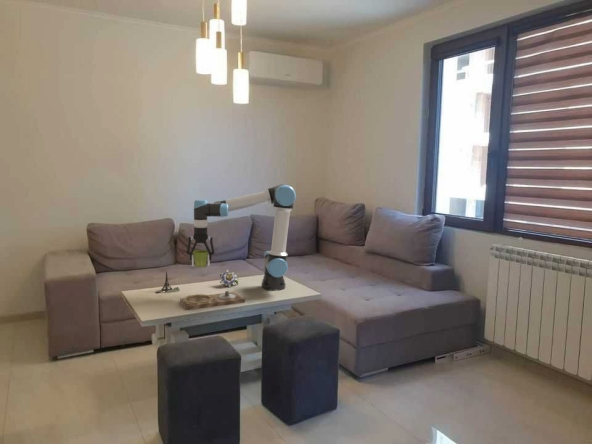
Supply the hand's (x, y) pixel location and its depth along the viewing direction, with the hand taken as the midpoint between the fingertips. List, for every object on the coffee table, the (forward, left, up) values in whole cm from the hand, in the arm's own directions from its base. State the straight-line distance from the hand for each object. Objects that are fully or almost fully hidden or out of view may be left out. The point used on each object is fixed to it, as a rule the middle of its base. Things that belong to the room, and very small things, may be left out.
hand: (200, 265), depth 265 cm
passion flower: (-15, -22, -18) cm, 32 cm away
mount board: (-7, +14, -17) cm, 24 cm away
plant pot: (0, 0, 0) cm, 1 cm away
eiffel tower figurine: (+21, -12, -18) cm, 31 cm away
